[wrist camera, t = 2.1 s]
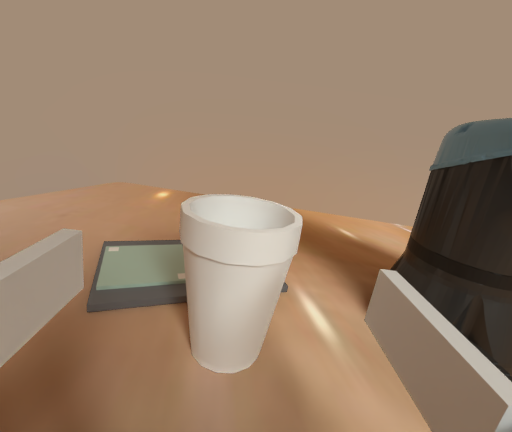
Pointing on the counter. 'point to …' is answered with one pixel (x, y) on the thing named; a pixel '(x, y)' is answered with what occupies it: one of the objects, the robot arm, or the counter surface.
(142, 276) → the tile board
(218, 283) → the foam cup
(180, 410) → the counter surface
